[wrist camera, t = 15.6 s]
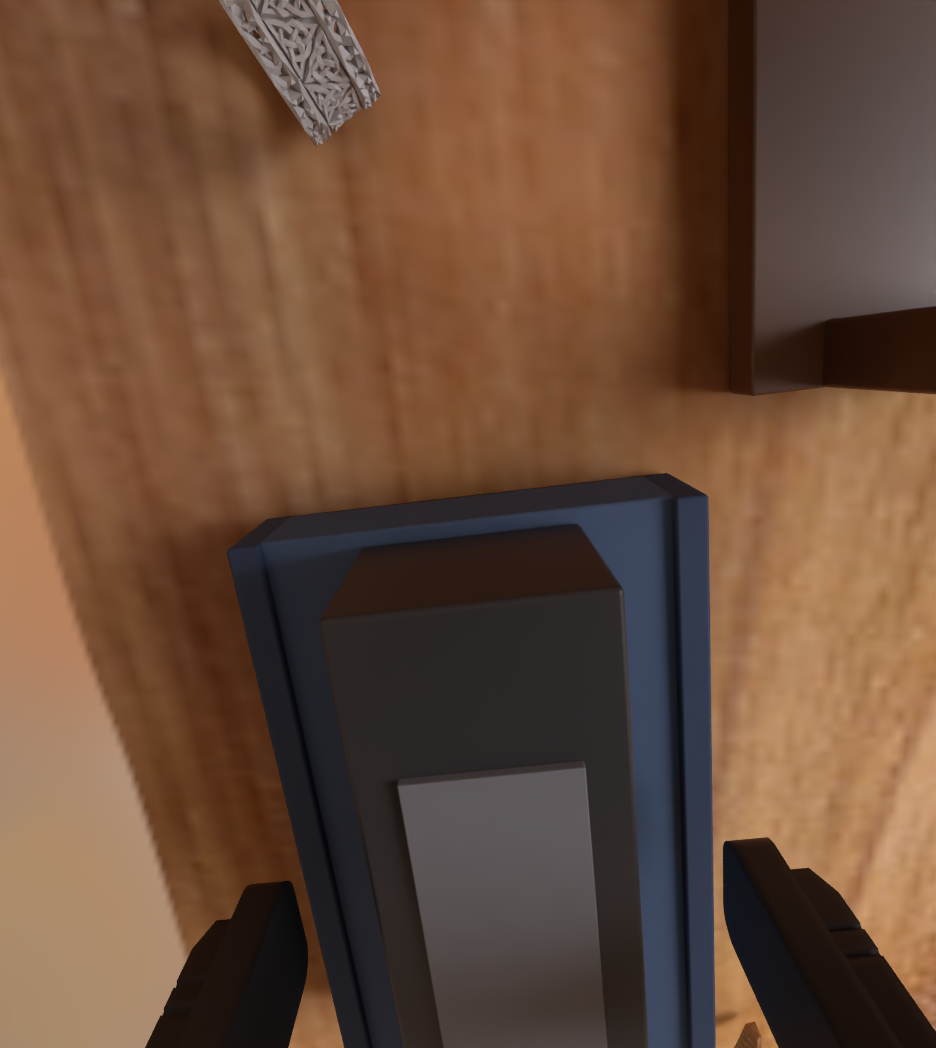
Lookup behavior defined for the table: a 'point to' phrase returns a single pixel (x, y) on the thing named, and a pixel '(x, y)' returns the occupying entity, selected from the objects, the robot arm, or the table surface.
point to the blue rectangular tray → (655, 702)
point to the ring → (308, 59)
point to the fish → (749, 1037)
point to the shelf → (832, 195)
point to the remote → (495, 786)
